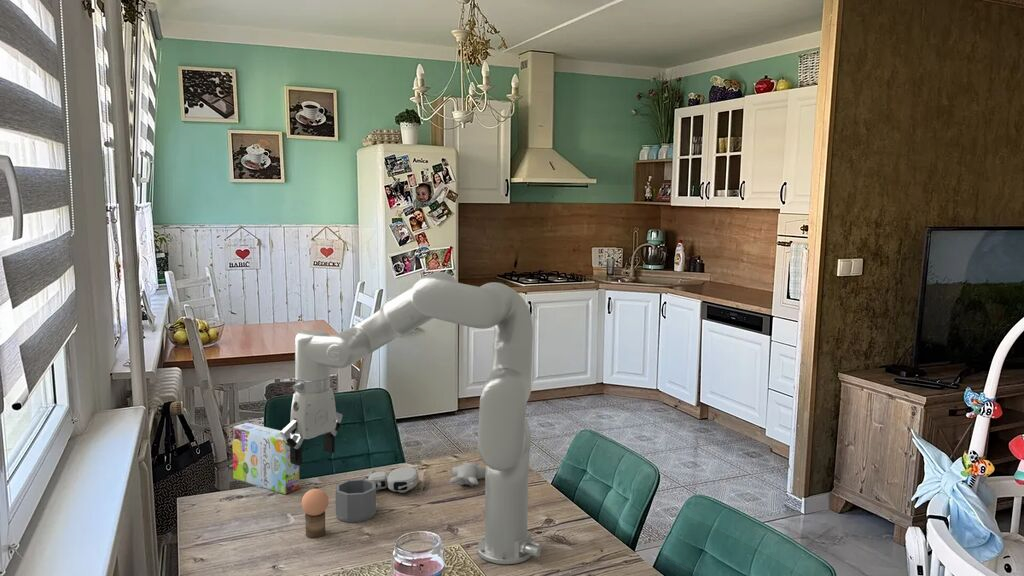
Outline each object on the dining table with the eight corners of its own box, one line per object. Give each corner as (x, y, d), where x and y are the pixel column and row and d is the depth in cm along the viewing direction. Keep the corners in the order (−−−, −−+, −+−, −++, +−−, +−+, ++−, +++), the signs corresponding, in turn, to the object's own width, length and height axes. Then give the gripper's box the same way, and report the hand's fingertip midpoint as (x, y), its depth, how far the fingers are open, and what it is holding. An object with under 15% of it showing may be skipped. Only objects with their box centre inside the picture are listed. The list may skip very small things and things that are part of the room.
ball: (334, 513, 165) (333, 488, 165) (314, 522, 160) (313, 497, 160) (316, 507, 169) (315, 482, 168) (296, 516, 163) (295, 491, 163)
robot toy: (359, 500, 186) (416, 497, 186) (357, 484, 186) (415, 480, 186) (368, 482, 198) (421, 479, 198) (366, 467, 198) (420, 463, 198)
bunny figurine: (488, 460, 203) (481, 473, 188) (487, 478, 203) (480, 492, 188) (455, 458, 204) (446, 471, 189) (454, 476, 204) (445, 491, 189)
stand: (329, 532, 166) (329, 512, 165) (314, 539, 162) (314, 518, 161) (316, 527, 168) (316, 507, 167) (301, 534, 164) (301, 514, 164)
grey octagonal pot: (383, 511, 177) (383, 484, 176) (356, 526, 169) (355, 497, 168) (356, 502, 182) (355, 476, 182) (327, 516, 174) (327, 488, 174)
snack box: (301, 488, 191) (300, 434, 189) (285, 495, 186) (283, 440, 185) (248, 472, 202) (246, 421, 200) (231, 479, 197) (229, 426, 195)
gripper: (293, 396, 152) (293, 473, 154) (352, 380, 166) (352, 451, 168) (270, 390, 156) (271, 465, 158) (329, 375, 170) (329, 444, 172)
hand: (312, 457), depth 163 cm, fingers open, 9 cm apart
